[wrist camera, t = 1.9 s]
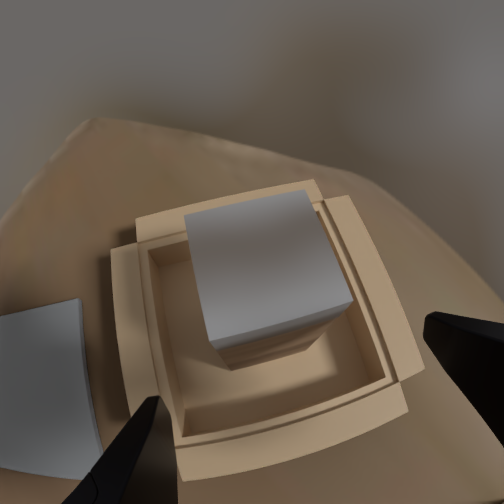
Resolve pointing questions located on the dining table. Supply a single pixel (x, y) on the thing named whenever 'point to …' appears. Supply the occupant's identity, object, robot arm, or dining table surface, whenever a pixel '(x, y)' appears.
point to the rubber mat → (46, 393)
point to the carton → (265, 374)
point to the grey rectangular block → (265, 277)
